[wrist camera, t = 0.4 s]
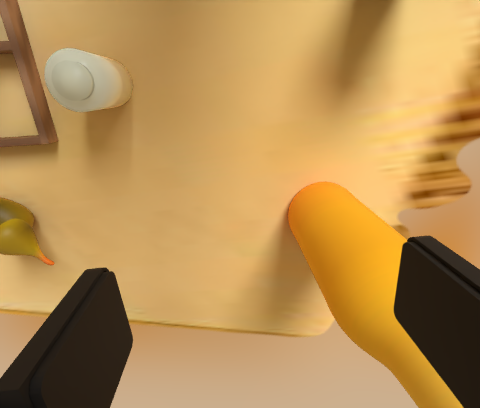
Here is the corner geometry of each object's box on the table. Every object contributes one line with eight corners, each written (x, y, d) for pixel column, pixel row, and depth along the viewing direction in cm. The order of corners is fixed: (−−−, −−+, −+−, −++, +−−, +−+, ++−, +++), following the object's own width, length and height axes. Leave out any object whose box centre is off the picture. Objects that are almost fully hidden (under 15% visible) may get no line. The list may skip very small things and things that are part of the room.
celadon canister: (80, 59, 32) (30, 48, 23) (127, 56, 32) (94, 44, 24) (92, 108, 34) (49, 114, 25) (136, 105, 34) (108, 110, 26)
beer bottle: (356, 179, 39) (663, 386, 12) (346, 240, 42) (565, 508, 15) (288, 179, 38) (445, 396, 11) (284, 241, 41) (394, 519, 15)
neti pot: (64, 255, 41) (36, 284, 34) (-44, 189, 36) (-98, 209, 30) (80, 234, 39) (55, 260, 33) (-29, 164, 35) (-82, 179, 29)
